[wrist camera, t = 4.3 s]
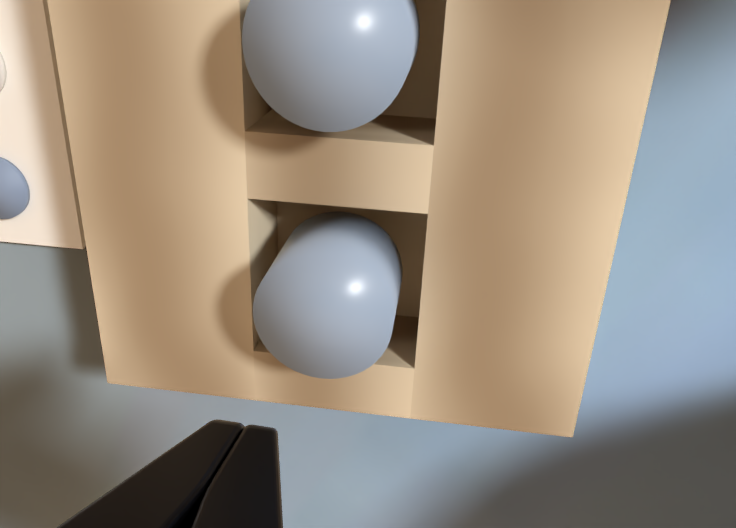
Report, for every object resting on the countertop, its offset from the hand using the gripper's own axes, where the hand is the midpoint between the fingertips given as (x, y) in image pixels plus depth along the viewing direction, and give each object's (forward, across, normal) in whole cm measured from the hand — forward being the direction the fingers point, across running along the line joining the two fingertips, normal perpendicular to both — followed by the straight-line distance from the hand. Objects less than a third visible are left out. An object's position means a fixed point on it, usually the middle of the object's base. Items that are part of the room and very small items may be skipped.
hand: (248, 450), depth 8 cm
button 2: (+8, 0, +1) cm, 8 cm away
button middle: (+8, 0, -4) cm, 9 cm away
